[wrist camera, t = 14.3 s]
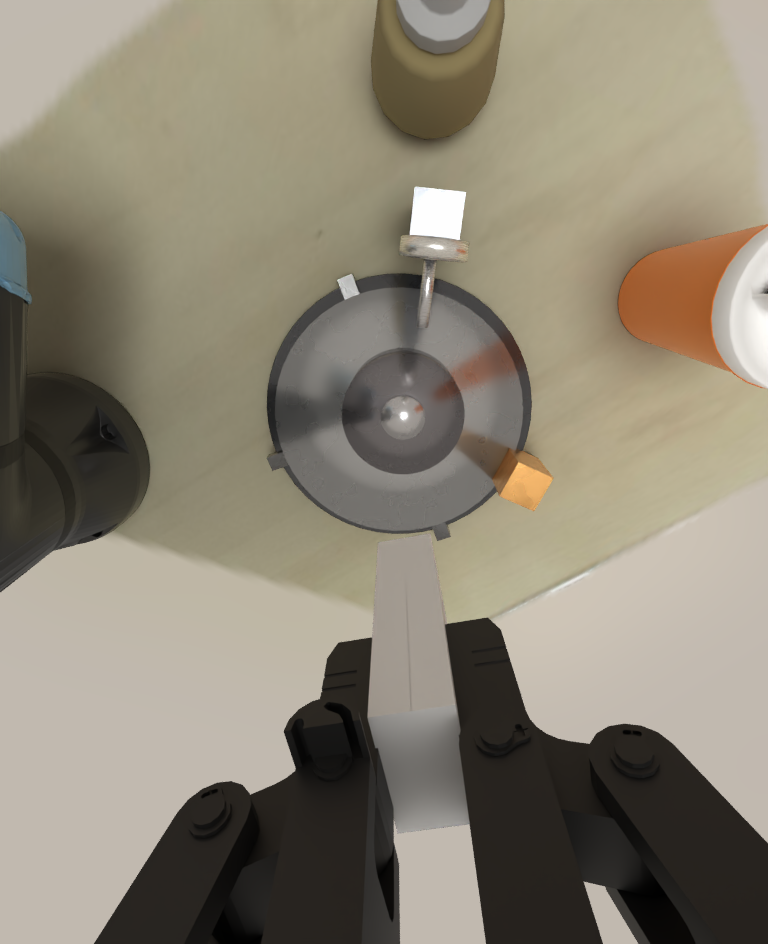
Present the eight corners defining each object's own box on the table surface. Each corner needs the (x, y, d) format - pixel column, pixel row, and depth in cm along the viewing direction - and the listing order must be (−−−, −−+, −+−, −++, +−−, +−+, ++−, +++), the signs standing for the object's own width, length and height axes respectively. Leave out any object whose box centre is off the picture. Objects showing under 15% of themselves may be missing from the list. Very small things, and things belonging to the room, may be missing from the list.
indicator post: (394, 317, 44) (390, 329, 32) (405, 208, 41) (406, 175, 29) (443, 322, 44) (459, 337, 32) (458, 213, 41) (481, 183, 29)
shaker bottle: (674, 374, 45) (874, 439, 26) (582, 322, 44) (720, 351, 25) (746, 270, 42) (1028, 259, 23) (650, 213, 41) (863, 150, 22)
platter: (475, 567, 50) (483, 597, 45) (245, 470, 47) (227, 491, 42) (591, 365, 43) (614, 375, 39) (332, 242, 41) (323, 236, 36)
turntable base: (244, 488, 49) (241, 492, 48) (306, 235, 42) (304, 234, 41) (474, 557, 51) (476, 562, 50) (571, 323, 44) (574, 324, 43)
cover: (428, 475, 46) (430, 495, 41) (329, 430, 45) (321, 446, 40) (479, 378, 43) (488, 388, 38) (375, 328, 42) (372, 333, 37)
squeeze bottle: (441, -12, 37) (475, -265, 20) (509, 97, 39) (593, -50, 22) (350, 77, 39) (309, -85, 22) (419, 177, 41) (431, 99, 24)
